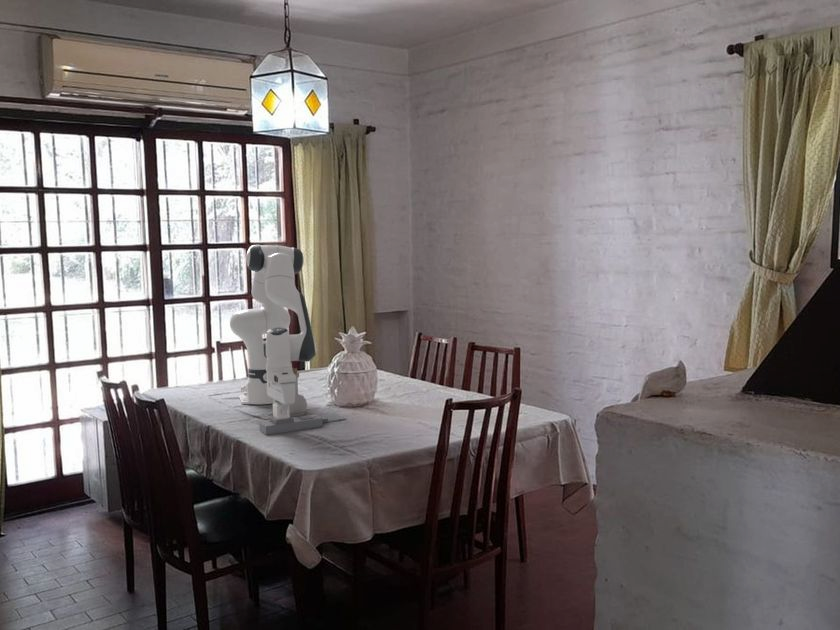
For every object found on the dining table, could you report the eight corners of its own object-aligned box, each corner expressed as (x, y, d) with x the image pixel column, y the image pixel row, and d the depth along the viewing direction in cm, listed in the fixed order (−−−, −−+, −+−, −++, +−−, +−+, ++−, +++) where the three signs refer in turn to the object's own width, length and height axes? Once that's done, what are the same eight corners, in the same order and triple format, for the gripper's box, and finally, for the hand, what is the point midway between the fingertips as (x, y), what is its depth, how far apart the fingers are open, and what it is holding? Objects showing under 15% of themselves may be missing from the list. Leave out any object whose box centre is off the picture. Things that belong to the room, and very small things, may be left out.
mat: (310, 418, 296) (310, 416, 296) (335, 414, 301) (335, 413, 301) (320, 423, 288) (320, 421, 288) (345, 419, 292) (345, 418, 292)
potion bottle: (285, 417, 299) (283, 370, 297) (284, 412, 308) (282, 366, 306) (308, 415, 301) (306, 369, 299) (307, 410, 309) (305, 365, 307)
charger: (273, 421, 280) (272, 401, 279) (285, 419, 282) (284, 399, 282) (277, 423, 276) (276, 403, 275) (289, 421, 278) (288, 402, 278)
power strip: (259, 430, 279) (259, 418, 279) (324, 421, 291) (324, 409, 291) (265, 434, 273) (265, 422, 273) (331, 424, 285) (331, 412, 284)
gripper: (261, 371, 285) (263, 408, 286) (280, 379, 267) (282, 419, 269) (278, 369, 288) (280, 406, 290) (298, 377, 270) (299, 417, 272)
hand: (281, 412), depth 279 cm, fingers closed on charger, 4 cm apart
